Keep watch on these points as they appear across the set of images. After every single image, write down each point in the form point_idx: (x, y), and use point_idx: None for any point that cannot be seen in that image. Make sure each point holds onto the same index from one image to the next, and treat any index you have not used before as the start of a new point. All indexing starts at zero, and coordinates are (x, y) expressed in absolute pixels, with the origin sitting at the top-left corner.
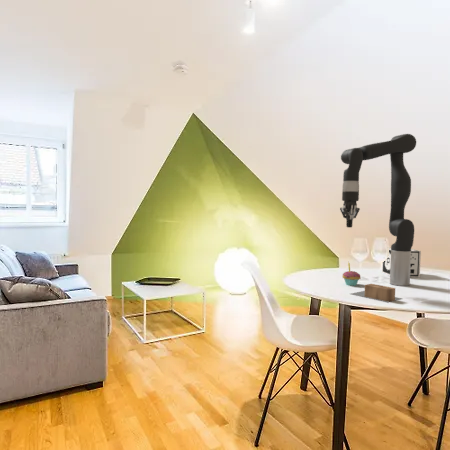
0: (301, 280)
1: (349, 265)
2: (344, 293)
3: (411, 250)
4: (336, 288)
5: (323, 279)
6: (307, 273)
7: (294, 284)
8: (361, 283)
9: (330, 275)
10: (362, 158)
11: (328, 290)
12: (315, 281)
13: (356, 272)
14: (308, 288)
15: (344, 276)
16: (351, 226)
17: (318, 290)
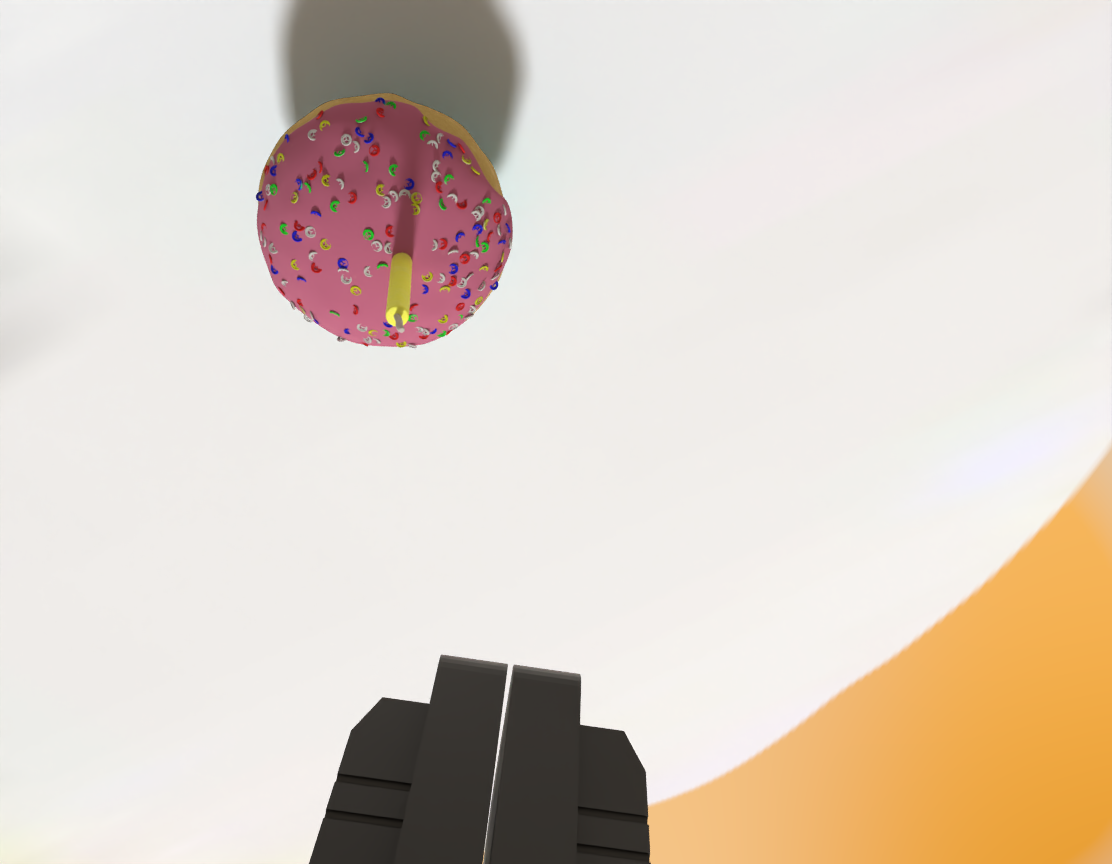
0: (610, 683)
1: (402, 291)
2: (957, 17)
3: None
4: (732, 233)
5: (359, 571)
6: (209, 812)
7: (864, 631)
8: (171, 158)
9: (75, 626)
10: None
11: (916, 244)
12: (540, 573)
13: (321, 183)
14: (965, 446)
15: (499, 278)
16: (502, 672)
17: (996, 322)
